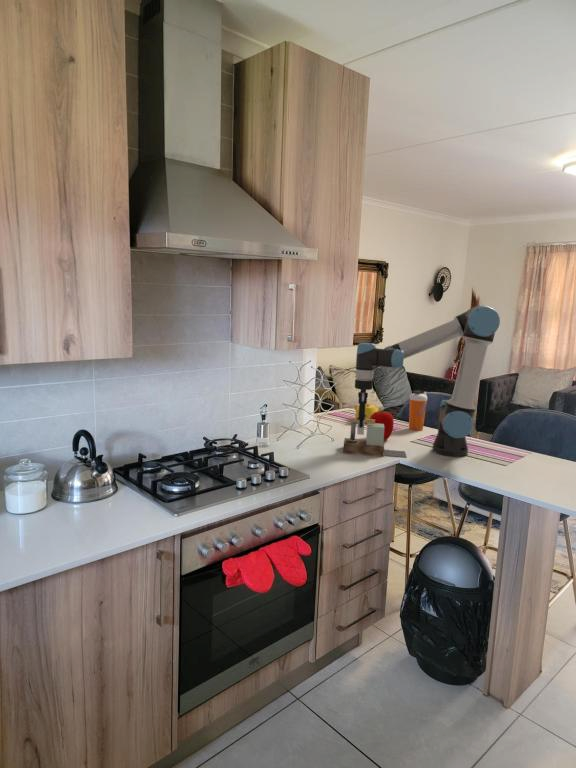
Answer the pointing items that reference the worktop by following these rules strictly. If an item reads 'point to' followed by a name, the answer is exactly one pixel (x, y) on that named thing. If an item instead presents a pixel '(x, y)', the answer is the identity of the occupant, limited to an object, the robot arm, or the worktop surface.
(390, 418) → the tomato
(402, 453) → the mat
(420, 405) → the shaker bottle
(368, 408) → the teapot
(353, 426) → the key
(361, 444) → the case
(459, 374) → the robot arm
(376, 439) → the grey block
